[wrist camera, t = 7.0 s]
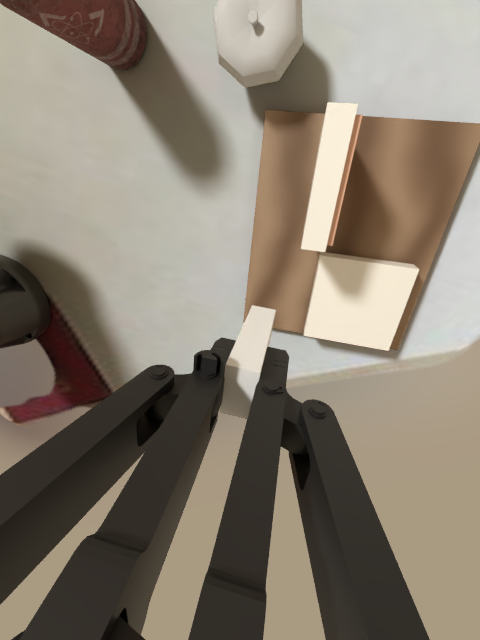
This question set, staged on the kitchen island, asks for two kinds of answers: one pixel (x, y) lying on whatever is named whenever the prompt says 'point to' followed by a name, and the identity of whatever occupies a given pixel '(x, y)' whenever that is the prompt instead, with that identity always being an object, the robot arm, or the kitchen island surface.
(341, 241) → the board
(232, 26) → the apple
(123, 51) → the can
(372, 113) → the kitchen island surface
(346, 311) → the square block
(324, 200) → the tile cream
